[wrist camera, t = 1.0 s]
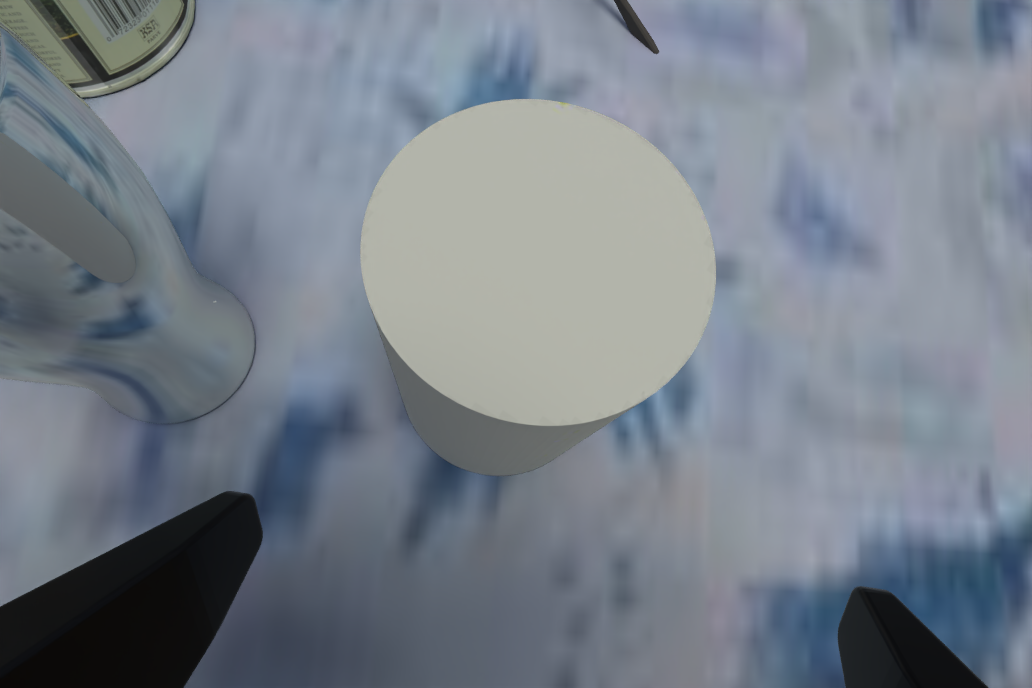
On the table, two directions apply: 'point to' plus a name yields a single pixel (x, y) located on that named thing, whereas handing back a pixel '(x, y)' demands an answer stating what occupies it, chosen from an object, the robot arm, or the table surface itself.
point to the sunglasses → (636, 25)
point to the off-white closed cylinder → (532, 279)
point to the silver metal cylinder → (100, 263)
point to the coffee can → (101, 38)
